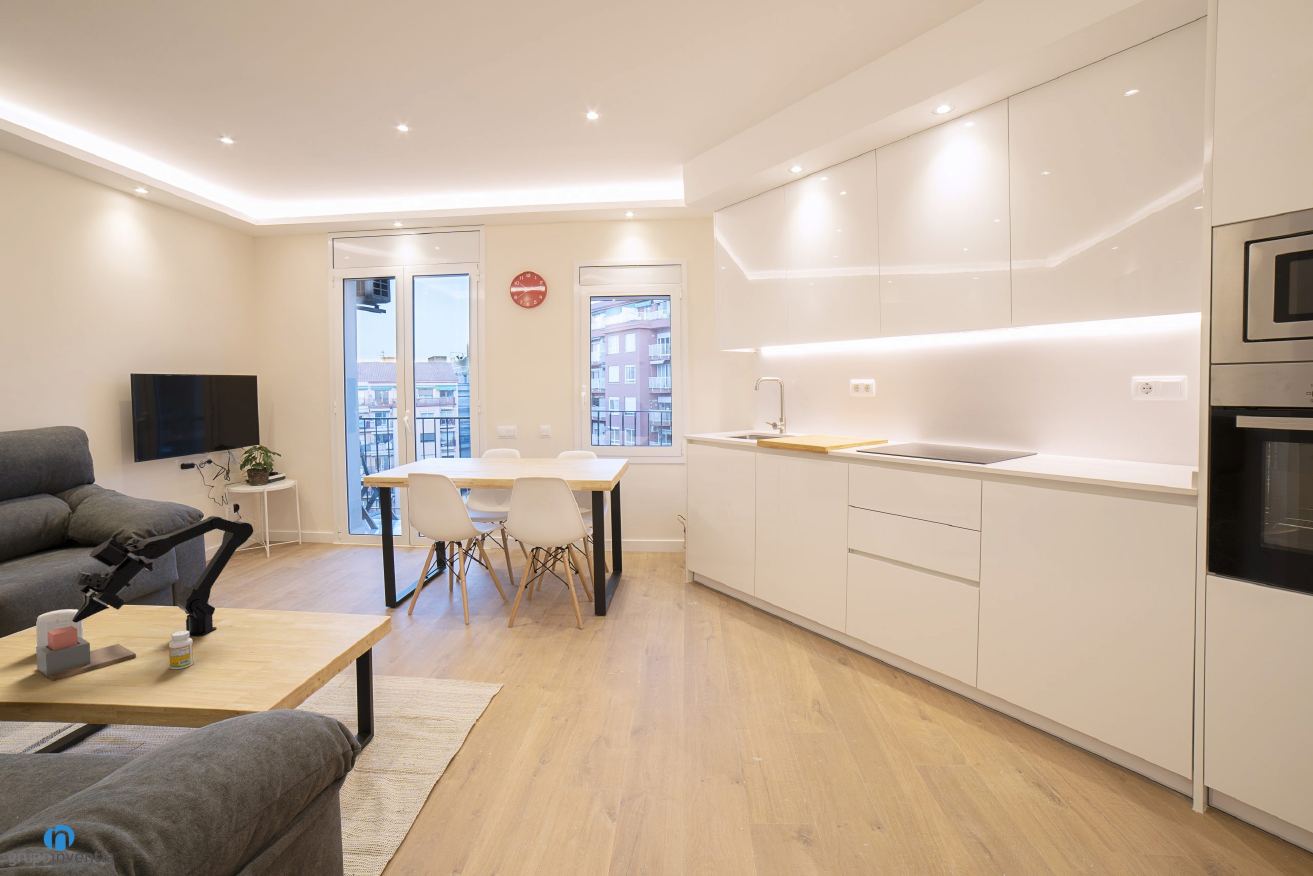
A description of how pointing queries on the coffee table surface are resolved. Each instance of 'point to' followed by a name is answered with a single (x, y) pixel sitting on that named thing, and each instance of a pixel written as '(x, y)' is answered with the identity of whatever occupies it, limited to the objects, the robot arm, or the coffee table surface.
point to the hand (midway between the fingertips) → (73, 621)
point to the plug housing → (63, 657)
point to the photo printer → (56, 624)
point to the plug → (62, 638)
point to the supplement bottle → (181, 650)
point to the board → (97, 660)
